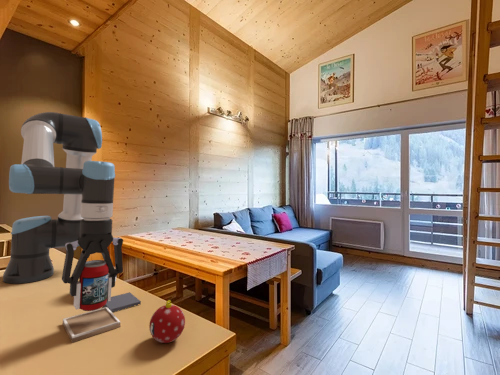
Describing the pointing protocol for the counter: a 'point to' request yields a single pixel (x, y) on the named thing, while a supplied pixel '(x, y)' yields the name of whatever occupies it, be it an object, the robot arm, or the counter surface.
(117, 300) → the pad
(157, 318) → the christmas ornament
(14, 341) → the counter surface
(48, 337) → the counter surface
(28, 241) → the robot arm
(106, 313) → the board
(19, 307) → the counter surface
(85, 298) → the beverage can
